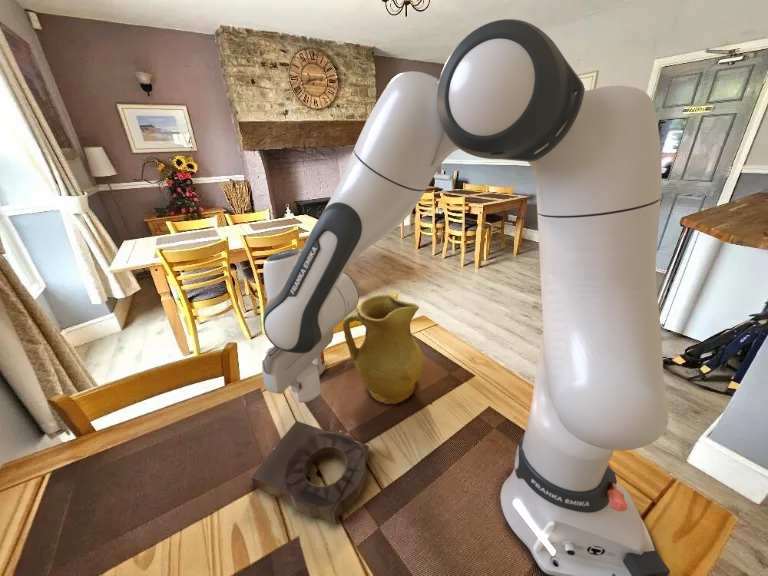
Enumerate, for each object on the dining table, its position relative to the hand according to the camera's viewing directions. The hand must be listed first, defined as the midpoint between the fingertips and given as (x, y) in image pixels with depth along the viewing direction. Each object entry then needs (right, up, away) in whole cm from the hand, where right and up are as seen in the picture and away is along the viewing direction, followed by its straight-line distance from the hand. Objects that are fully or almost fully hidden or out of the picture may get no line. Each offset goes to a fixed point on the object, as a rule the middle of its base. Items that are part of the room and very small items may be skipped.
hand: (306, 380), depth 69 cm
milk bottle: (-4, -3, +21) cm, 22 cm away
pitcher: (+18, -6, +15) cm, 24 cm away
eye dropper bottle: (0, -4, +2) cm, 5 cm away
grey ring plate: (+3, -16, -7) cm, 18 cm away
